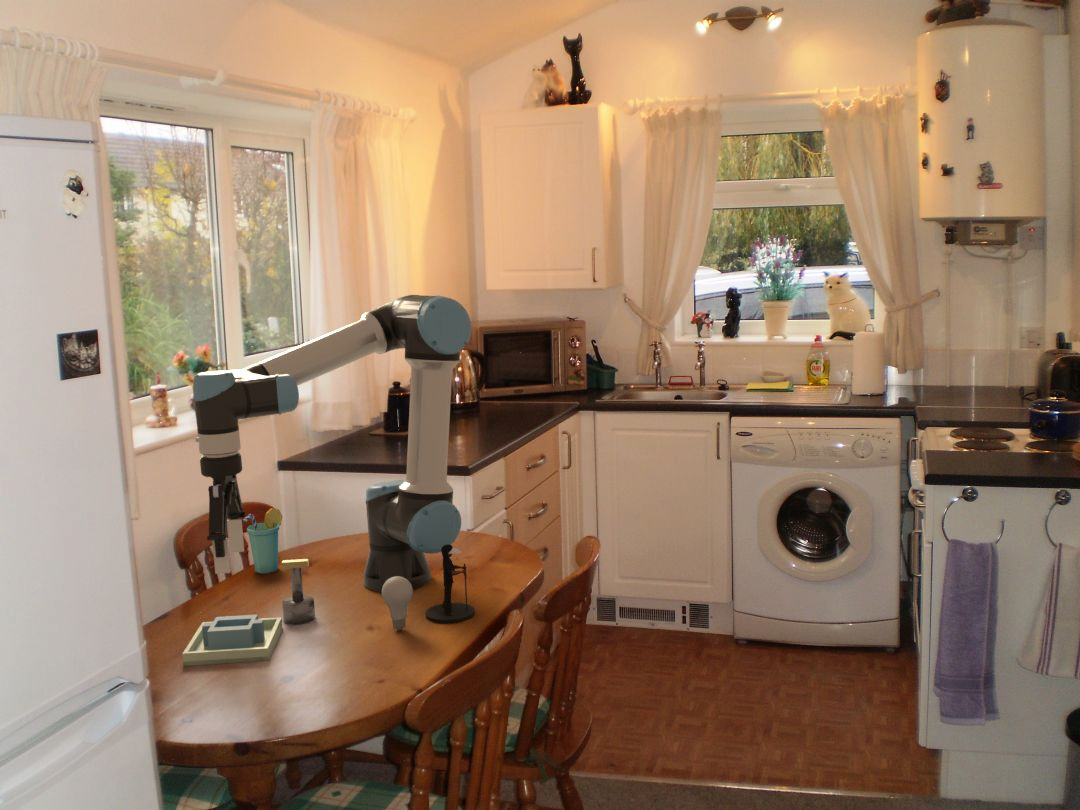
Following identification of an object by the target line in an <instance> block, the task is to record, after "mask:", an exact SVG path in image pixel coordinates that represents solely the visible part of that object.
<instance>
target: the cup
mask: <svg viewBox="0 0 1080 810" xmlns="http://www.w3.org/2000/svg"><path fill="white" fill-rule="evenodd" d="M250 519H251V523H252V524H251V525H248V527H247V528H246V533H247V535H248V537H249V538H248V539H249V543H250V550H251V554H252V561H253V565H254V571H255V573H256V574H257V573H258V574H270V573H274V572H276V571H278V569H279V531H280V526H281V525H282V521H283V514H282V513H281V511H280V509H277V508H269V510H267V512H265V515H264V520H263V522H258V523H257V521H256V518H255V515H254V514H252V513H248V515H247V516H245V517H243V518H242V524H245V523H247V522H248V521H249V520H250Z"/></svg>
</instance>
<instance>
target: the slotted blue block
mask: <svg viewBox="0 0 1080 810" xmlns="http://www.w3.org/2000/svg"><path fill="white" fill-rule="evenodd" d="M258 619H259V620H258ZM209 622H210V623H204V624H203V626H202V631H203V642H204V646H208V647H209V650H224V649H239V648H253V646H254V643H263V642H264V640H265V635H264V623H263V618H259V617H258V613H257V614H245V615H226V616H216V617H215V618H214V619H213V621H209Z"/></svg>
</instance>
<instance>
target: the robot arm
mask: <svg viewBox="0 0 1080 810" xmlns="http://www.w3.org/2000/svg"><path fill="white" fill-rule="evenodd" d="M471 334H472V321H471V317H470V314H469V313H468V311H467V310H466V308H465V307H464V306H463V304H461V302H459V301H457V300H455V299H453V298H451V297H446V296H442V295H439V294H438V295H420V294H407V295H404V296H401V297H398V298H396V299H393V300H391V301H389V302H386V303H384V304H382V305H380V306H377V307H376V308H373V309H371V310H368V311H367V312H364V313H363V314H361V318H360V320H357V321H355V322H353V323H349V324H347V325H345V326H343V327H340V328H338V329H335V330H333V331H331V332H328V333H326V334H324V335H321V336H319V337H316V338H314V339H312V340H309V341H307V342H305V343H302V344H300V345H297V346H295V347H292V348H290V349H287V350H286V351H283V352H281V353H277V354H276V355H273V356H270V357H268V358H266V359H264V360H262V361H261V360H260V361H258V362H256V363H254V364H251V365H249V366H246V367H245V368H242V369H241V368H235V369H229V370H211V371H210V370H209V371H204V372H203V371H202V372H199V373H197V374H196V375H194V377H193V380H192V384H193V385H192V391H193V393H192V395H193V397H192V399H193V403H194V412H195V419H196V428H197V429H196V430H197V436H196V437H195V439H194V440H195V442H196V443H198V452H199V453H200V454H201V456H200V457H199V464H200V474H201V475H202V476H203V477H205V478H211V479H212V485H209V486H208V498H209V500H208V504H209V505H208V506H209V507H208V516H209V517H208V535H207V536H206V540H207V541H211V542H212V553H213V554H212V555H213V564H214V573H215V575H219V574H231V572H232V569H231V559H230V558H231V557H230V553H241V552H242V553H243V552H245V544H244V543H245V542H244V533H243V532H244V531H243V522H242V520H243V519H244V518H246V512H245V511H244V508H243V504H242V498H241V494H240V489H239V486H238V484H239V483H238V478H237V475H238V474H241V472H242V471H243V463H242V462H243V461H242V454H241V452H240V450H241V449H242V448H241V437H240V436H241V435H240V428H239V427H240V426H239V420H245V419H249V418H258V417H266V416H275V415H282V414H286V413H292V412H293V411H295V410H296V409H297V407H298V405H299V403H300V402H299V401H300V395H299V394H300V393H299V387H298V386H301V385H303V384H304V383H308V382H309V381H311V380H314V379H316V378H318V377H321V376H323V375H325V374H327V373H331V372H332V371H335V370H337V369H339V368H342V367H344V366H346V365H348V364H351V363H353V362H355V361H358V360H359V359H363V358H365V357H367V356H370V355H372V354H374V353H375V354H377V355H383V354H386V353H388V352H391V351H394V350H399V349H404V361H406V363H407V364H408V365H409V366H410V368H411V369H410V371H411V373H410V392H409V413H408V415H409V416H408V432H407V433H408V434H407V436H408V437H407V456H406V476H405V478H406V479H396V480H388V481H381V482H378V483H374V484H371V485H369V486H368V487H367V489H366V493H365V505H366V518H367V531H368V532H367V533H368V543H369V546H368V547H369V552H368V556H367V559H366V563H365V567H364V570H363V575H362V577H363V586H364V587H365V588H367V589H369V590H372V591H377V592H382V587H383V585H384V583H385V582H386V581H387V580H388V579H390V578H392V577H395V576H400V577H404V578H405V579H407V580H408V581H409V582H410V583H411V585H412V588H413V590H416V589H419V588H421V587H424V586H426V585H428V584H429V583H430V582H431V581H432V571H431V567H430V566H429V565H430V564H429V562H428V560H427V557H426V554H431V555H432V554H438V553H442V552H441V549H442V547H443V546H444V545H448V544H449V545H452V544H454V542H456V540H457V538H458V537H459V535H460V531H461V529H462V528H461V527H462V515H461V513H460V511H459V510H458V508H457V507H456V505H455V504H453V501H454V488H453V486H452V485H451V484H450V483H449V482H448V480H447V478H448V477H447V476H448V460H449V459H448V457H449V442H450V441H449V440H450V439H449V438H450V437H449V436H450V422H451V421H450V420H451V419H450V418H451V400H452V399H451V397H452V380H453V379H452V377H453V370H454V368H455V367H456V366H457V365H458V364H459V363H460V362H461V361H460V359H461V351H462V350H463V349H464V348H465V346H466V345H467V344H468V343H469V341H470V339H471ZM227 536H228V537H227Z"/></svg>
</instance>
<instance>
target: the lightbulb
mask: <svg viewBox="0 0 1080 810" xmlns="http://www.w3.org/2000/svg"><path fill="white" fill-rule="evenodd" d="M413 594H414V589H413V588H412V585H411V583H410V582H409V581H408V580H407V579H405V578H404V577H400V576H395V577H392V578H390V579H388V580H387V581H386V582H385V583H384V585H383V587H382V591H381V598H382V600H383V601H384V603H385V604H386V606H387V608H388V610H389V613H390V618H391V621H392V628H393V629H394V630H396V631H402V630H403V629H405V628H406V624H407V623H406V622H407V621H406V620H407V616H408V614H407V613H408V606H409V605H410V602H411V600H412V598H413Z"/></svg>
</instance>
